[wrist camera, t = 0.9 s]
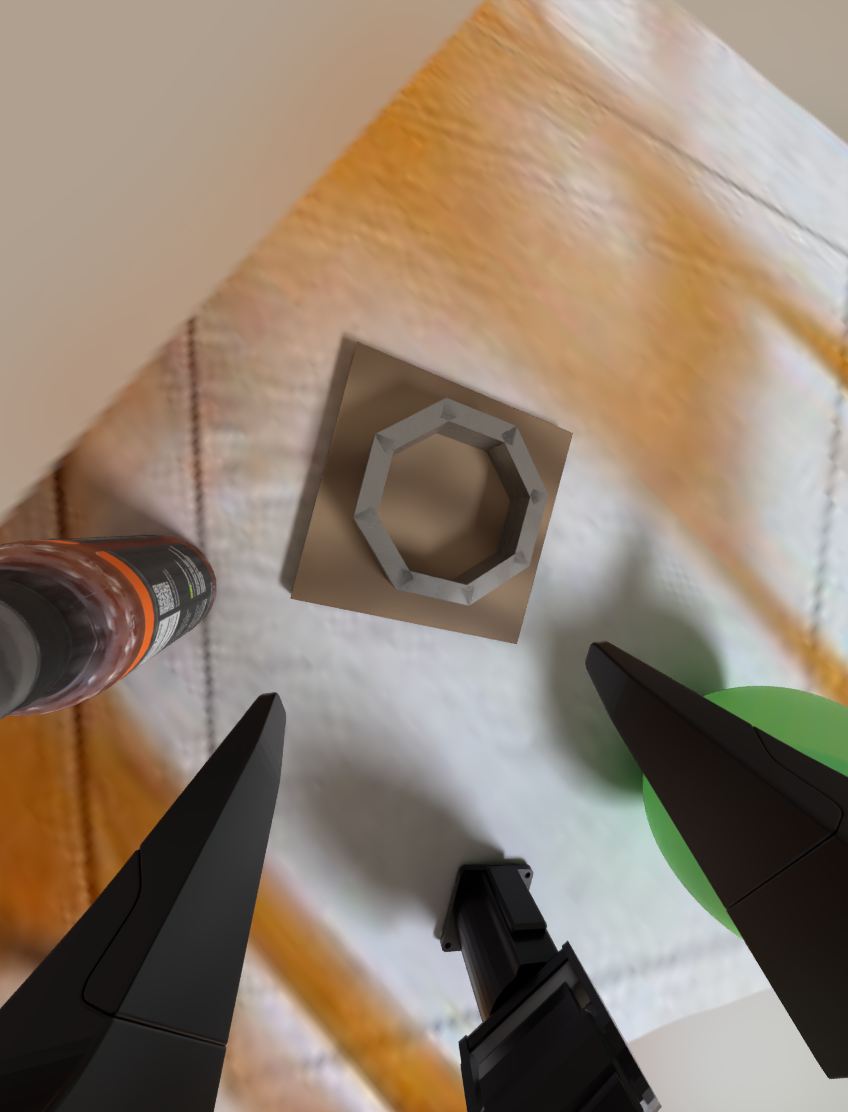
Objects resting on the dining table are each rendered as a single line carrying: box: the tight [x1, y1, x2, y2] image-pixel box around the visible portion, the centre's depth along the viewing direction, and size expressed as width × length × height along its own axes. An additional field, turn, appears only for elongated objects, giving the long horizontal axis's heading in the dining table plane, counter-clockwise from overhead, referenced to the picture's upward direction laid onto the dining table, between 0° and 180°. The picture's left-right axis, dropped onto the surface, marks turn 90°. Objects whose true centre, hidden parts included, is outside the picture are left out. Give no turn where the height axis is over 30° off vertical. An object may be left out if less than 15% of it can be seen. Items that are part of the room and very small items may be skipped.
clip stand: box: [290, 342, 573, 644], centre depth 22 cm, size 16×16×1 cm
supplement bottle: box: [0, 535, 216, 719], centre depth 14 cm, size 6×6×11 cm
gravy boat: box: [643, 686, 848, 939], centre depth 23 cm, size 18×17×15 cm
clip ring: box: [351, 398, 548, 606], centre depth 21 cm, size 11×12×2 cm
